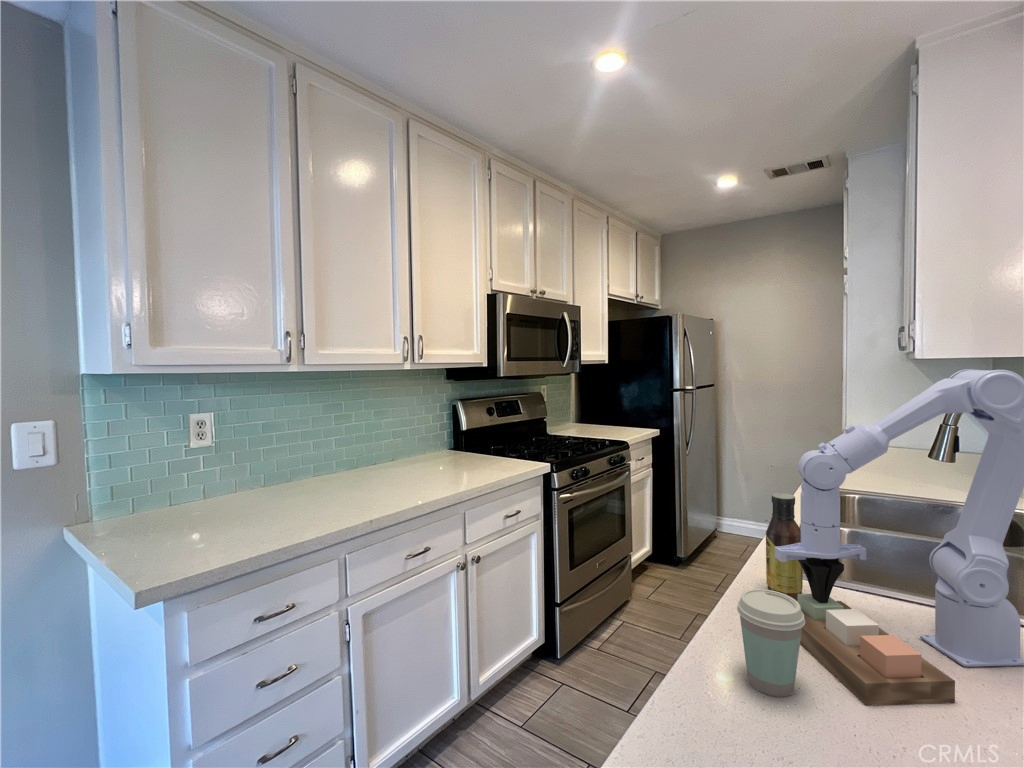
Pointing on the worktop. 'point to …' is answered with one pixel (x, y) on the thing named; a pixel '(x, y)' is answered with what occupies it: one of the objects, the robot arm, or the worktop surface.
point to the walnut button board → (873, 671)
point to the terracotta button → (890, 656)
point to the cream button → (849, 626)
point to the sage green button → (817, 606)
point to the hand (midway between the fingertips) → (819, 600)
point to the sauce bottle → (781, 534)
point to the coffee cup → (771, 639)
